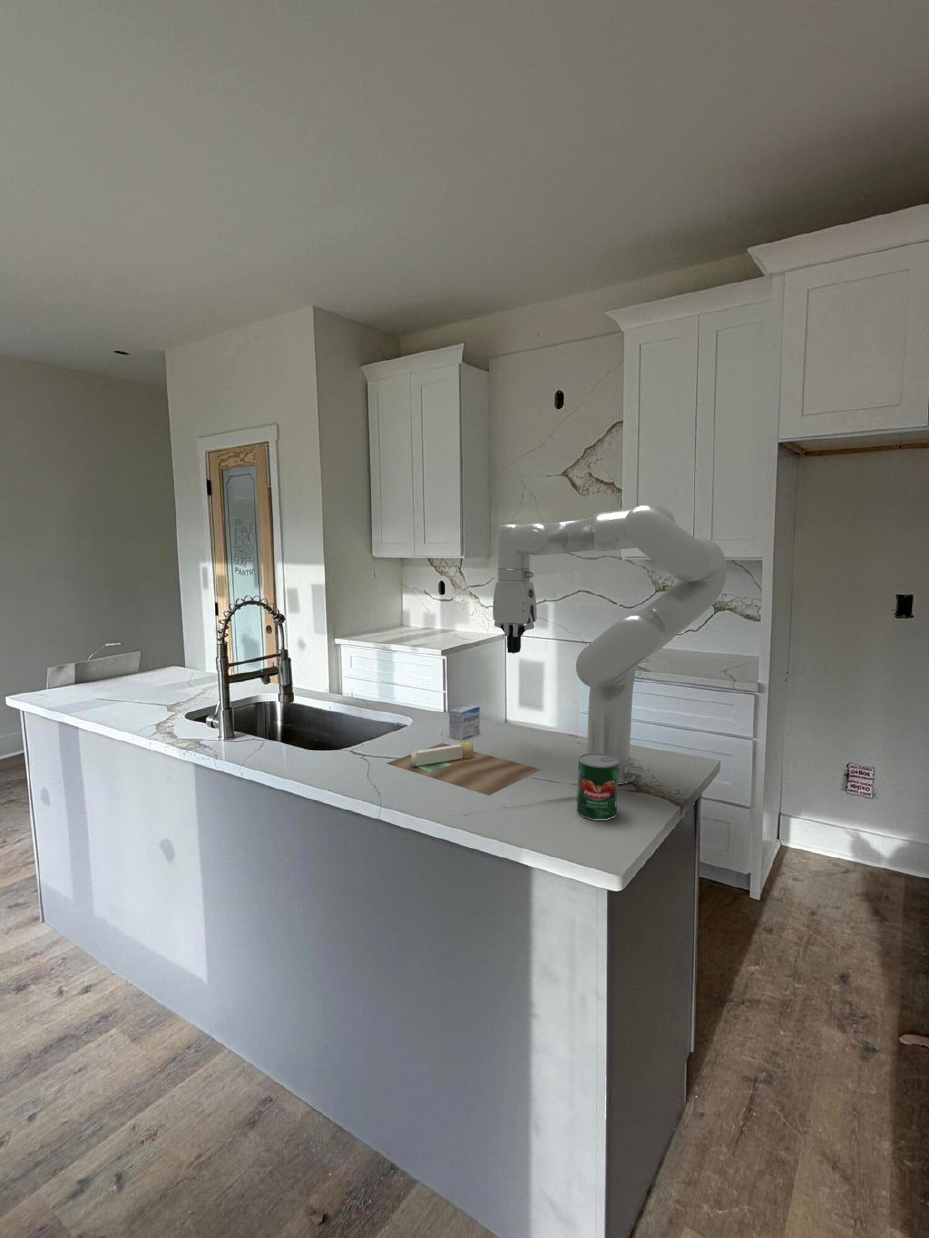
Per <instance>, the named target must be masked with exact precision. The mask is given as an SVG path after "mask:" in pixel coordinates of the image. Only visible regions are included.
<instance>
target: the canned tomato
mask: <svg viewBox="0 0 929 1238" xmlns="http://www.w3.org/2000/svg"><path fill="white" fill-rule="evenodd" d="M577 760H578V767H577V769H578V770H577V772H578V773H577V790H576V791H577V794H576V795H577V797H576V798H577V799H576V813H577V812H578V813H579V814H580V815H581V816H584V817H586V818H591V819H608V818H611V817H613V816H615V815H616V813H617V814H618V812H617V810H618V790H619V785H618V771H619V760H618V759H617V758H616V757H614V756H612V755H608V754H602V753H588V754H587V753H584V754H581V755H580V756H579V757H578V759H577ZM578 813H577V814H578ZM580 815H579V816H580ZM581 816H580V817H581ZM586 818H585V819H586Z"/></svg>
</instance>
